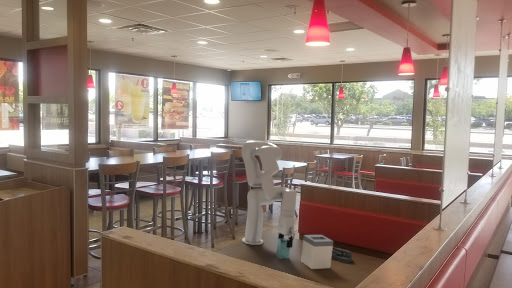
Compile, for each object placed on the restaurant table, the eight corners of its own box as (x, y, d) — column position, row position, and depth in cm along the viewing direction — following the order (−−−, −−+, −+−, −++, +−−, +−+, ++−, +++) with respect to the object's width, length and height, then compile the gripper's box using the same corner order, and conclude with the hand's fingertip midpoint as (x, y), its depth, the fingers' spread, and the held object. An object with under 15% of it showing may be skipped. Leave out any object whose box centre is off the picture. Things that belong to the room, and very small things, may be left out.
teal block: (276, 256, 211) (278, 238, 211) (286, 256, 214) (288, 238, 213) (278, 258, 209) (280, 240, 208) (288, 258, 211) (290, 239, 211)
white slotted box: (300, 261, 208) (303, 235, 208) (318, 260, 213) (321, 234, 212) (311, 269, 198) (314, 241, 198) (330, 268, 203) (333, 241, 202)
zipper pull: (313, 237, 233) (355, 248, 220) (312, 248, 233) (353, 259, 220) (307, 240, 226) (349, 251, 212) (306, 251, 226) (348, 263, 212)
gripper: (274, 209, 216) (271, 240, 217) (289, 216, 200) (286, 249, 201) (286, 209, 219) (283, 239, 220) (302, 216, 203) (299, 249, 204)
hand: (284, 244), depth 210 cm, fingers open, 9 cm apart
